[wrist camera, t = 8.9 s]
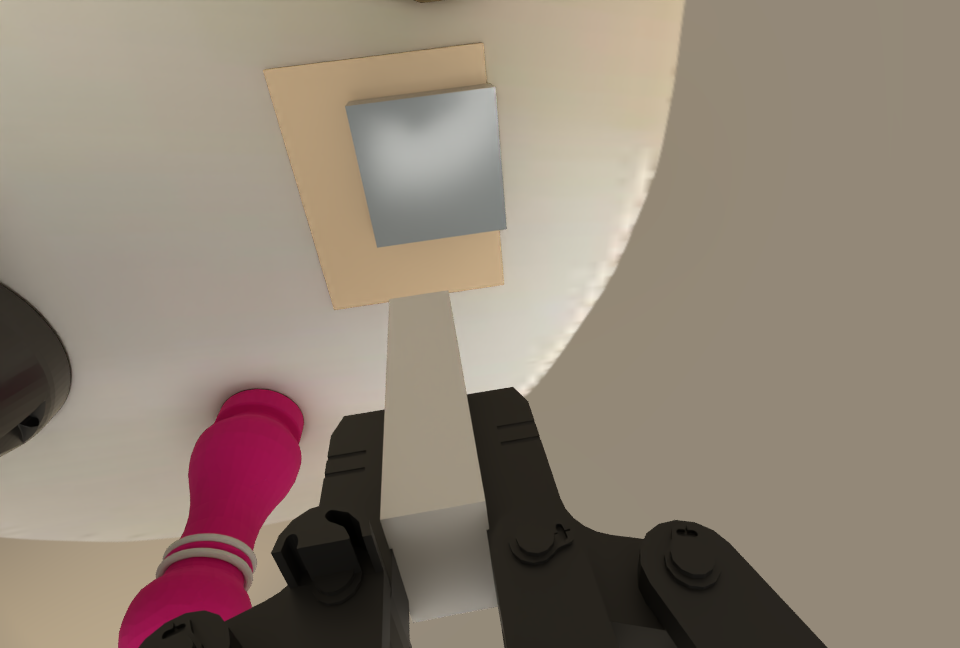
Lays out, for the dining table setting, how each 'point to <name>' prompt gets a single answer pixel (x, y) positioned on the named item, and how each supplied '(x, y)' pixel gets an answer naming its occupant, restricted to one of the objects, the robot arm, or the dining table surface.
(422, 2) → the squeeze bottle
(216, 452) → the pepper mill
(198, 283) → the dining table surface
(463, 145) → the tile
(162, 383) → the dining table surface
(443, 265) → the mat
